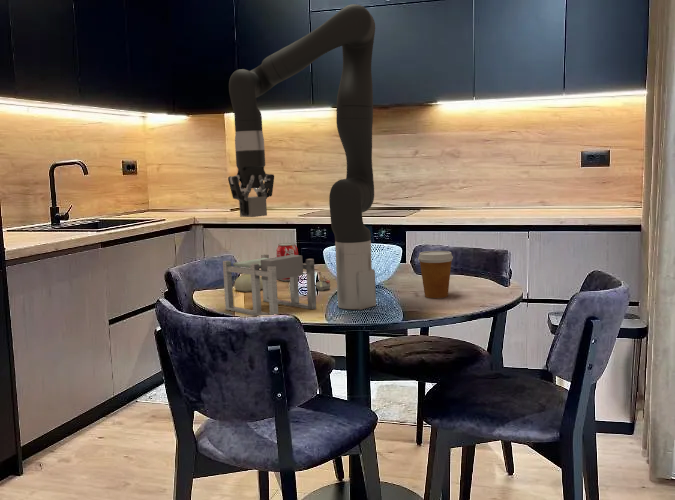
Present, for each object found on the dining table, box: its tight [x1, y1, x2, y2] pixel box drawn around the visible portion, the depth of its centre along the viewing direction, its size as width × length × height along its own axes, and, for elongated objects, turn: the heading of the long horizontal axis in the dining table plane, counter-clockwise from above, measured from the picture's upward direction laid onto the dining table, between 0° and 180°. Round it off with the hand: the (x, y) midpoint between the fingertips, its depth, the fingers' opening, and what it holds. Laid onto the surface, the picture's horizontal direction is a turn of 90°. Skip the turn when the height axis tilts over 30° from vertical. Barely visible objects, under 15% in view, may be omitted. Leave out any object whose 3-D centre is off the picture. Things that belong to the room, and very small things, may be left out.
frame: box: [222, 253, 317, 316], centre depth 177 cm, size 20×14×13 cm
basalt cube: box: [238, 195, 268, 218], centre depth 178 cm, size 5×5×5 cm
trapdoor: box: [232, 254, 304, 281], centre depth 176 cm, size 15×11×5 cm
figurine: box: [315, 271, 331, 292], centre depth 202 cm, size 5×4×6 cm
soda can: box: [276, 242, 299, 282], centre depth 221 cm, size 7×7×12 cm
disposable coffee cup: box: [417, 250, 454, 299], centre depth 185 cm, size 10×10×12 cm
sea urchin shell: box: [234, 274, 263, 293], centre depth 207 cm, size 9×8×8 cm
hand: (253, 214), depth 178 cm, fingers closed on basalt cube, 5 cm apart
